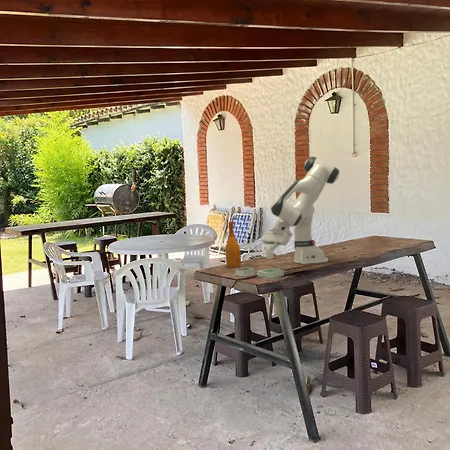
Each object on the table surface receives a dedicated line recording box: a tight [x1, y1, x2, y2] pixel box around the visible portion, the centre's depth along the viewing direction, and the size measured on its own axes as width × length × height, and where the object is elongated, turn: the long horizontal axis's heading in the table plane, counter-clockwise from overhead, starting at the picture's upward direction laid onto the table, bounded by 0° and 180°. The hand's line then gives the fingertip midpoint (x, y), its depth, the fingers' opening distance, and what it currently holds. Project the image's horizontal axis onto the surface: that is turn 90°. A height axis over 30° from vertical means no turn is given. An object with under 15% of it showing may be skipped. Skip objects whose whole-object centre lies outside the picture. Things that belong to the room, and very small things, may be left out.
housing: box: [235, 266, 255, 278], centre depth 308 cm, size 8×8×4 cm
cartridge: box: [265, 241, 274, 260], centre depth 298 cm, size 4×4×10 cm
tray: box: [256, 267, 285, 279], centre depth 300 cm, size 11×11×3 cm
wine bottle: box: [224, 221, 242, 268], centre depth 337 cm, size 10×10×30 cm
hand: (268, 249), depth 298 cm, fingers closed on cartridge, 4 cm apart
